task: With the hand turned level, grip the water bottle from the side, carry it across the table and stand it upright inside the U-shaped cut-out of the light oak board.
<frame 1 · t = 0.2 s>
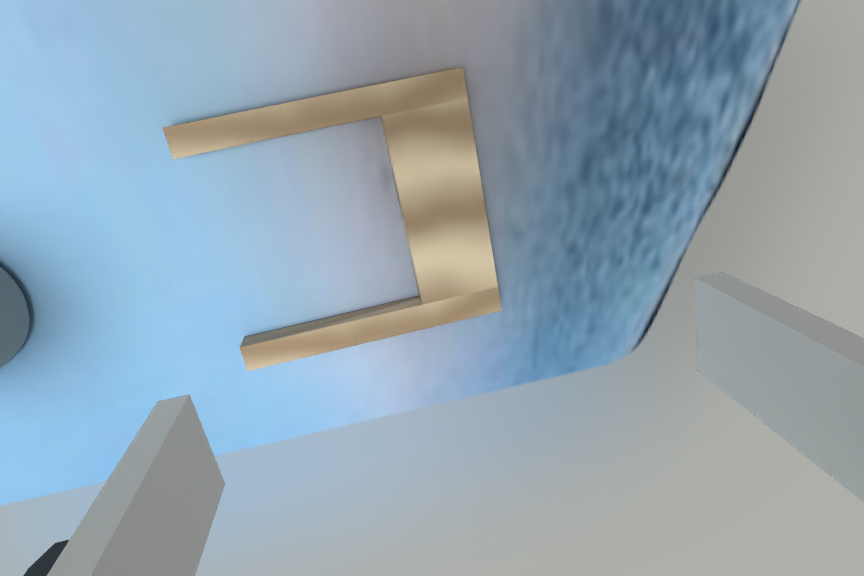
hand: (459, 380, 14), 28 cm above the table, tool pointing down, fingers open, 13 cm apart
oak cut-out board: (348, 222, 40), on the table
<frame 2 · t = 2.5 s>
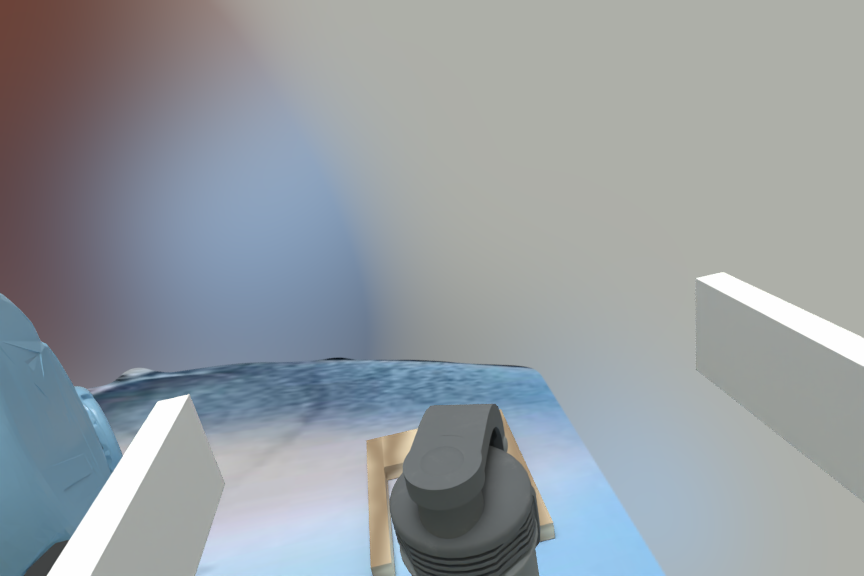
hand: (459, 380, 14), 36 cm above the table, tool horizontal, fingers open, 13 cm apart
oak cut-out board: (449, 489, 61), on the table
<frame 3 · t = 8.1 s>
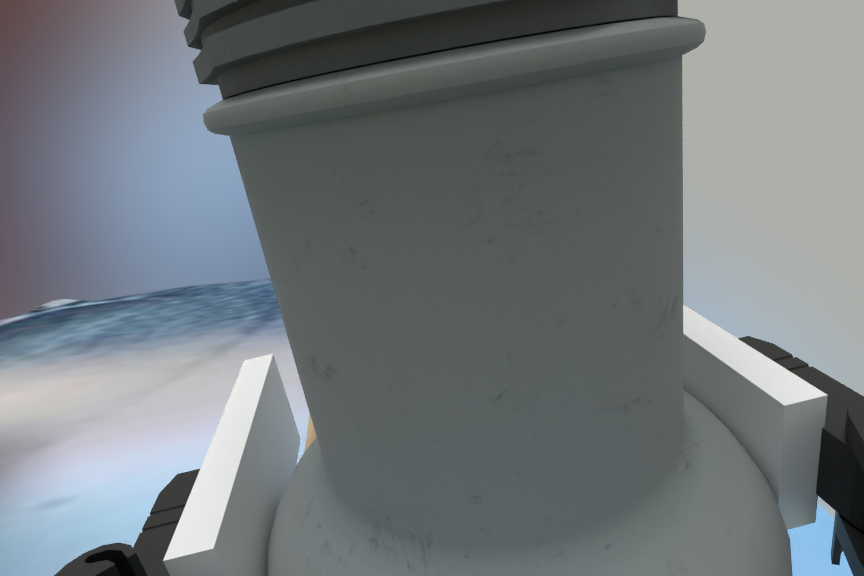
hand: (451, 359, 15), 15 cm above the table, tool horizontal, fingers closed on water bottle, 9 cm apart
when the fingers open (16 cm above the table, at t = 13.0 s): water bottle drops 1 cm, on the table.
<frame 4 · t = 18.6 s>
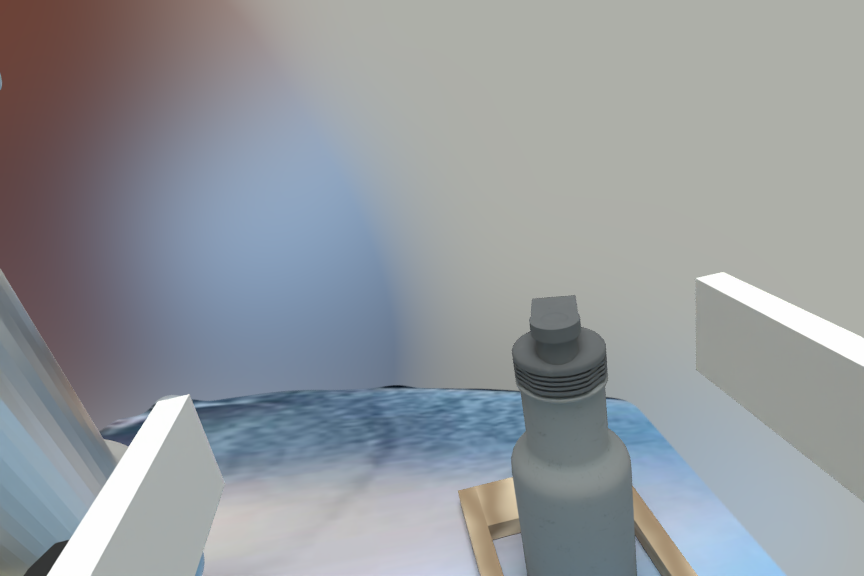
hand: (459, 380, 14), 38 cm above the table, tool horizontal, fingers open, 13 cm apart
oak cut-out board: (568, 554, 53), on the table
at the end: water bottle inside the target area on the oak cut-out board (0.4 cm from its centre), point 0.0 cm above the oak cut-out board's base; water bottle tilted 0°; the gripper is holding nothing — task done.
